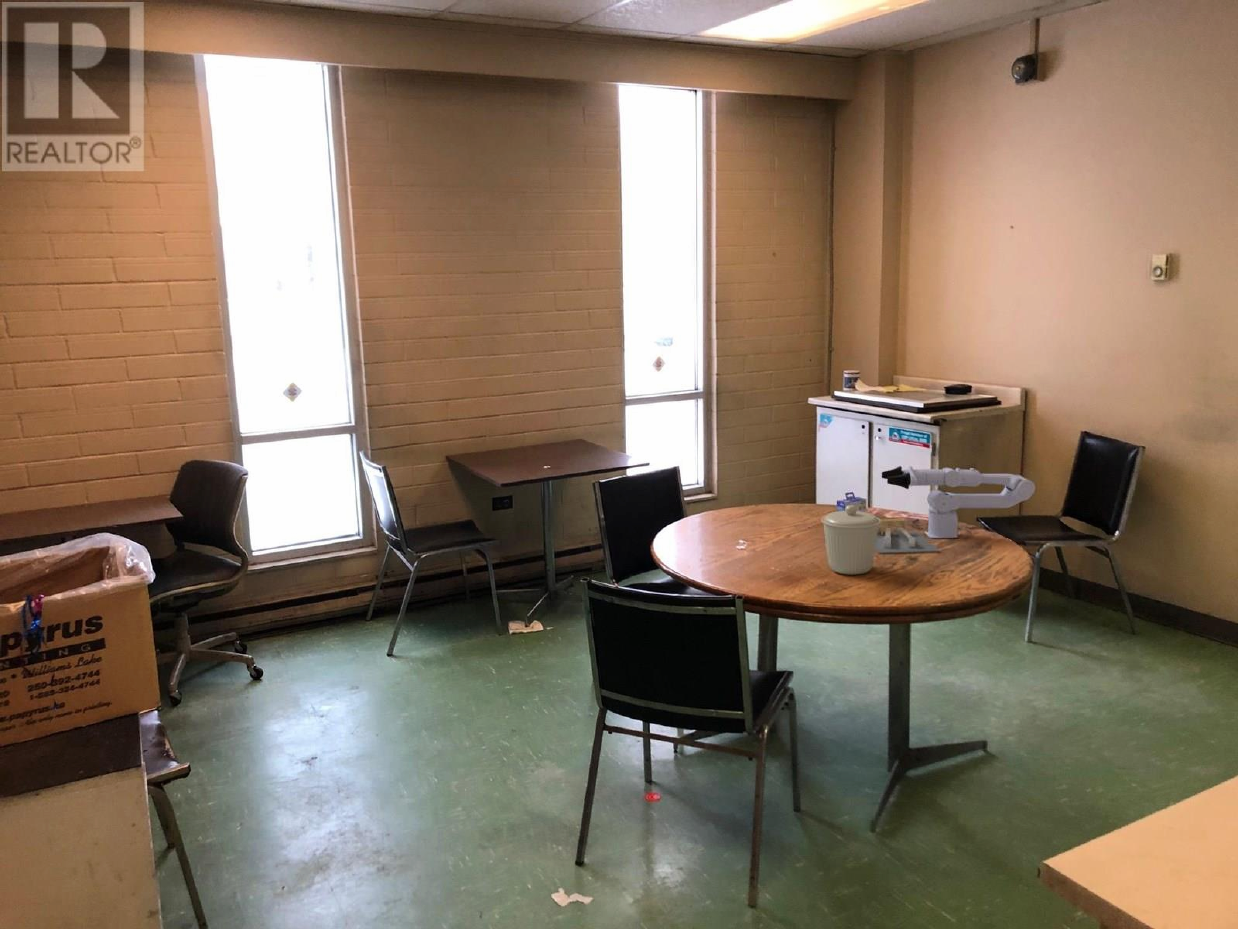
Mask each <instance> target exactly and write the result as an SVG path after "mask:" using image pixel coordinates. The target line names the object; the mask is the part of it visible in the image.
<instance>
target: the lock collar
mask: <svg viewBox="0 0 1238 929" xmlns="http://www.w3.org/2000/svg"><path fill="white" fill-rule="evenodd" d="M879 519H880V520H881V523H880V524H879V525H878V532H879V534H880V535H883V532H884V526H885V527H886V526H887V527H889V526H899V527H902V528H903V529H905V528H906V520H905V519H904V518H879ZM905 530H906V529H905Z"/></svg>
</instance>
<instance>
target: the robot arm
mask: <svg viewBox="0 0 1238 929" xmlns="http://www.w3.org/2000/svg"><path fill="white" fill-rule="evenodd" d="M881 479H884V480H887V481H886V483H887V484H888V485H892V486H898V487H901V488H904V489H906V490H909V489H910V487H915V486H916V487H917V486H918V487H919V486H924V487H925V486H934V487H935V486H936V487H937V486H945V485H946V486H947V487H950V488H951V487H952V488H955V487H961V486H962V487H979V485H980V484H989V485H1001V486H1002V485H1003V486H1004V488H1003V490H1002V491H1001V492H1000V493H953V492H948V491H947V492H944V491H942V490H940V489H934V490H931V491H930V492H929V493H928V494H927V497H926V498H927V500H926V501H927V503H928V505H929V508H928V528H927V529H928V531H924V534H926V535H927V536H928V538H930V539H955V538H958V537H959V536H958V526H959V525H958V522H959V520H958V514H957V511H956V510H958V509H1008V508H1011V507H1014V506H1015V505H1017V504H1019V503H1021V502H1023V501H1027V500H1029V499H1030V498H1031V496H1033V494H1034V493H1035V490H1036V486H1035V483H1034V482H1033V481H1032V480H1031V479H1027V478H1026V477H1023V476H1022V475H1019V474H1013V473H980V471H979V470H977V469H975V468H973V467H970V468H969V469H961V468H960V467H956V468H955V469H953V468H951V467H943V468H942V469H941V468H940V469H936V468H928V469H927V468H926V469H925V468H923V469H922V468H921V469H919V468H917V469H913V466H912V465H909V466H908V469H903V467H902V466H900V465H899V466H897V467H895V468H892V469H889V470H885V471H882V472H881Z"/></svg>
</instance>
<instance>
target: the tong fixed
mask: <svg viewBox="0 0 1238 929" xmlns="http://www.w3.org/2000/svg"><path fill="white" fill-rule="evenodd" d="M907 531H908V530H906V529H903V528H902V527H900V526H897V536H898V537H899V538H900V539H901V540H902V541H903V542H904V543H905V544H906V545H907V547H908V548H915V538H914V537H912V536H911V535H910V534H909V533H908V532H907Z"/></svg>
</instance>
